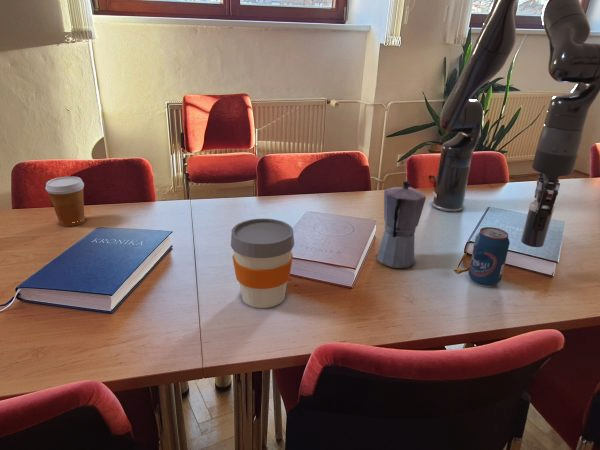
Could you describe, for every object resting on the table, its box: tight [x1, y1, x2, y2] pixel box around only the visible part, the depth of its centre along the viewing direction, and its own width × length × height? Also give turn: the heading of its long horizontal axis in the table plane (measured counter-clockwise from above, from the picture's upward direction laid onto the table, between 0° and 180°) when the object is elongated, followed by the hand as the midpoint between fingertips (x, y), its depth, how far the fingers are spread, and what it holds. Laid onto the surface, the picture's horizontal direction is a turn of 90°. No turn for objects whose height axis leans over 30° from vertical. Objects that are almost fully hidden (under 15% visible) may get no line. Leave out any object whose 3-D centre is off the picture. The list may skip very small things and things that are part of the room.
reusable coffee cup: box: [230, 218, 295, 309], centre depth 89 cm, size 13×13×15 cm
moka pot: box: [376, 180, 427, 269], centre depth 103 cm, size 10×15×20 cm, turn 161°
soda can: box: [468, 226, 511, 288], centre depth 98 cm, size 7×7×12 cm
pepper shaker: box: [520, 200, 556, 248], centre depth 97 cm, size 5×5×9 cm
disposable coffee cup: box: [44, 176, 86, 227], centre depth 122 cm, size 10×10×12 cm
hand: (536, 224), depth 97 cm, fingers closed on pepper shaker, 4 cm apart
